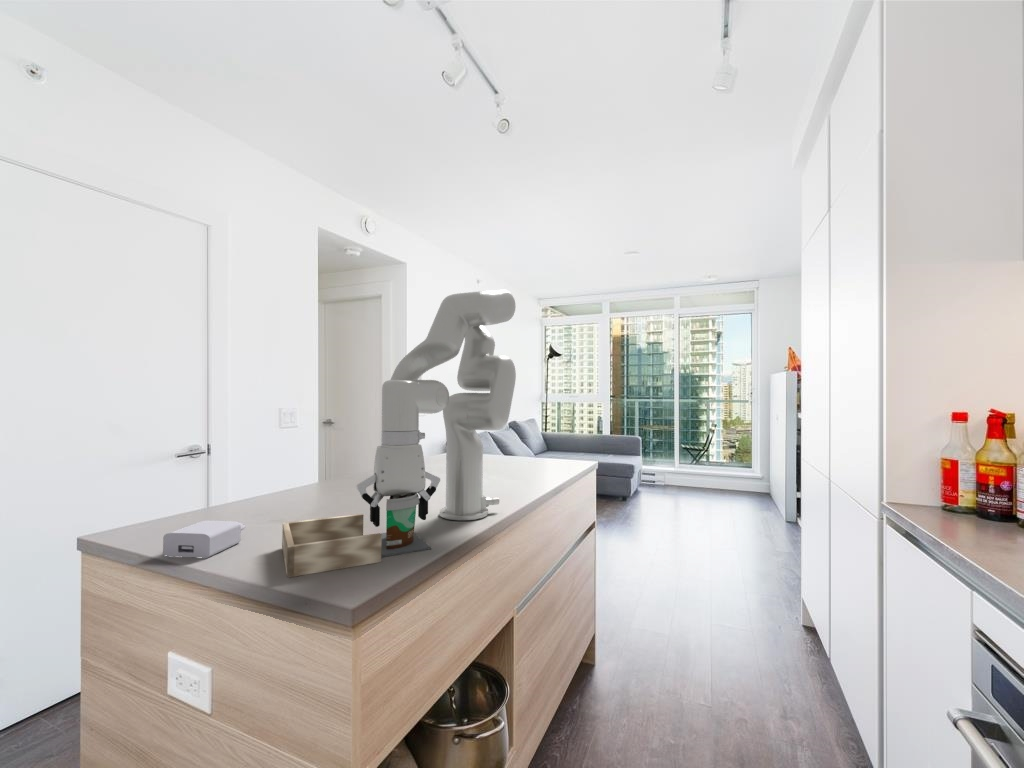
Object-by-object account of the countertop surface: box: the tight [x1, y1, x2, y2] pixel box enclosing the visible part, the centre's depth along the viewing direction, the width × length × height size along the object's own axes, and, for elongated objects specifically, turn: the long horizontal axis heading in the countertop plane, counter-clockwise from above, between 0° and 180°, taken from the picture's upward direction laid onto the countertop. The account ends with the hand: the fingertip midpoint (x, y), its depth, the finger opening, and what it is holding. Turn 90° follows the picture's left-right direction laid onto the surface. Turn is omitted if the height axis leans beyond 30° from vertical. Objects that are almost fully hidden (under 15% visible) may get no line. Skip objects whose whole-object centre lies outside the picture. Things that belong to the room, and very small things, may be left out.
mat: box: [380, 532, 432, 558], centre depth 94 cm, size 10×14×1 cm
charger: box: [162, 520, 246, 559], centre depth 92 cm, size 5×9×15 cm
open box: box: [281, 513, 382, 578], centre depth 87 cm, size 16×17×5 cm
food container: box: [385, 493, 420, 550], centre depth 94 cm, size 12×6×10 cm, turn 9°
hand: (399, 521), depth 94 cm, fingers open, 9 cm apart
